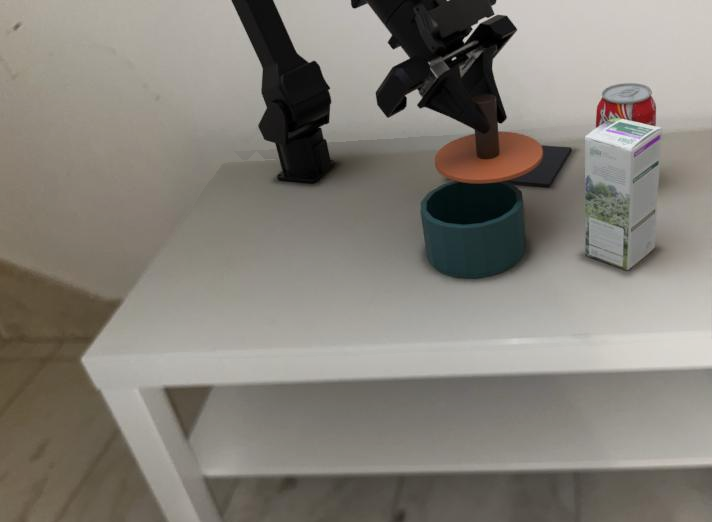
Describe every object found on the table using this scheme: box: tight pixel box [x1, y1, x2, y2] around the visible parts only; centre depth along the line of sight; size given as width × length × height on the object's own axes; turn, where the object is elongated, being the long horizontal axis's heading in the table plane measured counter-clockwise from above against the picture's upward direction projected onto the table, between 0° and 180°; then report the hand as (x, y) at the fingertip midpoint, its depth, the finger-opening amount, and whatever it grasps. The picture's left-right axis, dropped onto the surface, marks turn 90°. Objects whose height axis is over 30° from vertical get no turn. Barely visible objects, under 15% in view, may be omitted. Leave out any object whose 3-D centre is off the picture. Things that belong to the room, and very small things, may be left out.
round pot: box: [419, 180, 527, 279], centre depth 87 cm, size 11×11×6 cm
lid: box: [434, 94, 543, 184], centre depth 85 cm, size 12×12×8 cm
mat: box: [506, 145, 572, 188], centre depth 106 cm, size 14×11×1 cm
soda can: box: [595, 82, 657, 129], centre depth 94 cm, size 7×7×12 cm
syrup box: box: [584, 117, 663, 271], centre depth 81 cm, size 6×6×14 cm
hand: (495, 126), depth 83 cm, fingers closed on lid, 2 cm apart
